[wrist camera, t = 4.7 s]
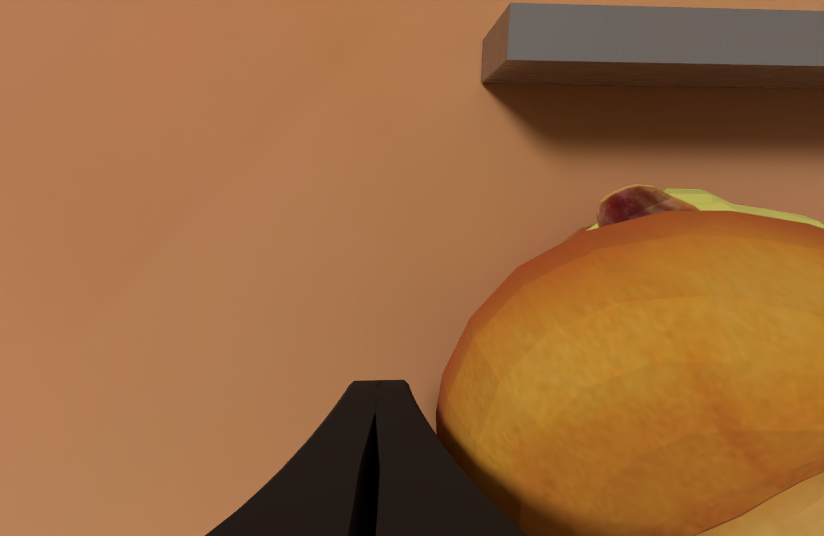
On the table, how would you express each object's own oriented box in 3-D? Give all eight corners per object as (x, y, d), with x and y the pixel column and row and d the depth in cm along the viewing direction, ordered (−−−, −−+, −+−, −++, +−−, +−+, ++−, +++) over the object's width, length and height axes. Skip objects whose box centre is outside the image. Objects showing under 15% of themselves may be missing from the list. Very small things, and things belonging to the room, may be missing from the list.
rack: (849, 557, 15) (961, 654, 12) (458, 571, 15) (474, 676, 12) (1024, 51, 11) (1260, 11, 8) (482, 39, 10) (519, -10, 7)
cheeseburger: (717, 523, 14) (1160, 1205, 5) (425, 416, 16) (316, 779, 6) (874, 247, 12) (2459, 523, 2) (511, 149, 13) (548, 65, 4)
